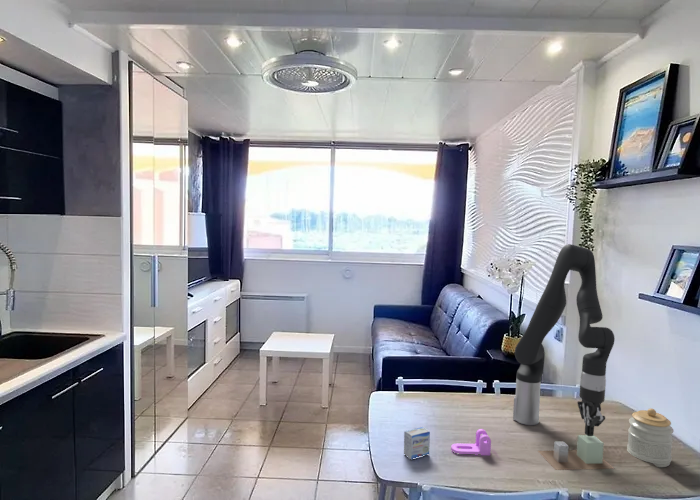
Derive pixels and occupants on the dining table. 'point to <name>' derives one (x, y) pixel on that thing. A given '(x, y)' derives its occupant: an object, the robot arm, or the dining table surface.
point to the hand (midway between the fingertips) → (589, 435)
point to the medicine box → (416, 442)
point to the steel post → (561, 451)
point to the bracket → (475, 445)
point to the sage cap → (590, 449)
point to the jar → (650, 437)
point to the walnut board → (572, 462)
